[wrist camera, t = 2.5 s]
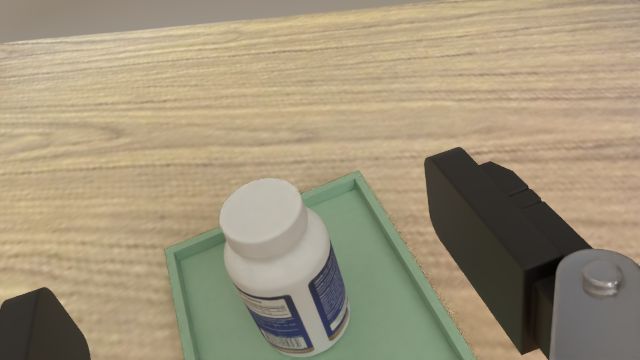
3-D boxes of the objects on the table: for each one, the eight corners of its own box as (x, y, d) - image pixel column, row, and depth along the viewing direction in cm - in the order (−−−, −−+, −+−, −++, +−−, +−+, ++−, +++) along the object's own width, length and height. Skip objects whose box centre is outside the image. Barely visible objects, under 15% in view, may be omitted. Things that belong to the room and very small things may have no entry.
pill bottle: (324, 263, 35) (286, 150, 28) (369, 327, 31) (337, 215, 24) (247, 307, 34) (189, 200, 27) (284, 379, 30) (226, 276, 23)
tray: (171, 260, 38) (163, 248, 37) (361, 182, 40) (359, 169, 39) (224, 529, 26) (214, 522, 25) (496, 402, 27) (497, 391, 26)
